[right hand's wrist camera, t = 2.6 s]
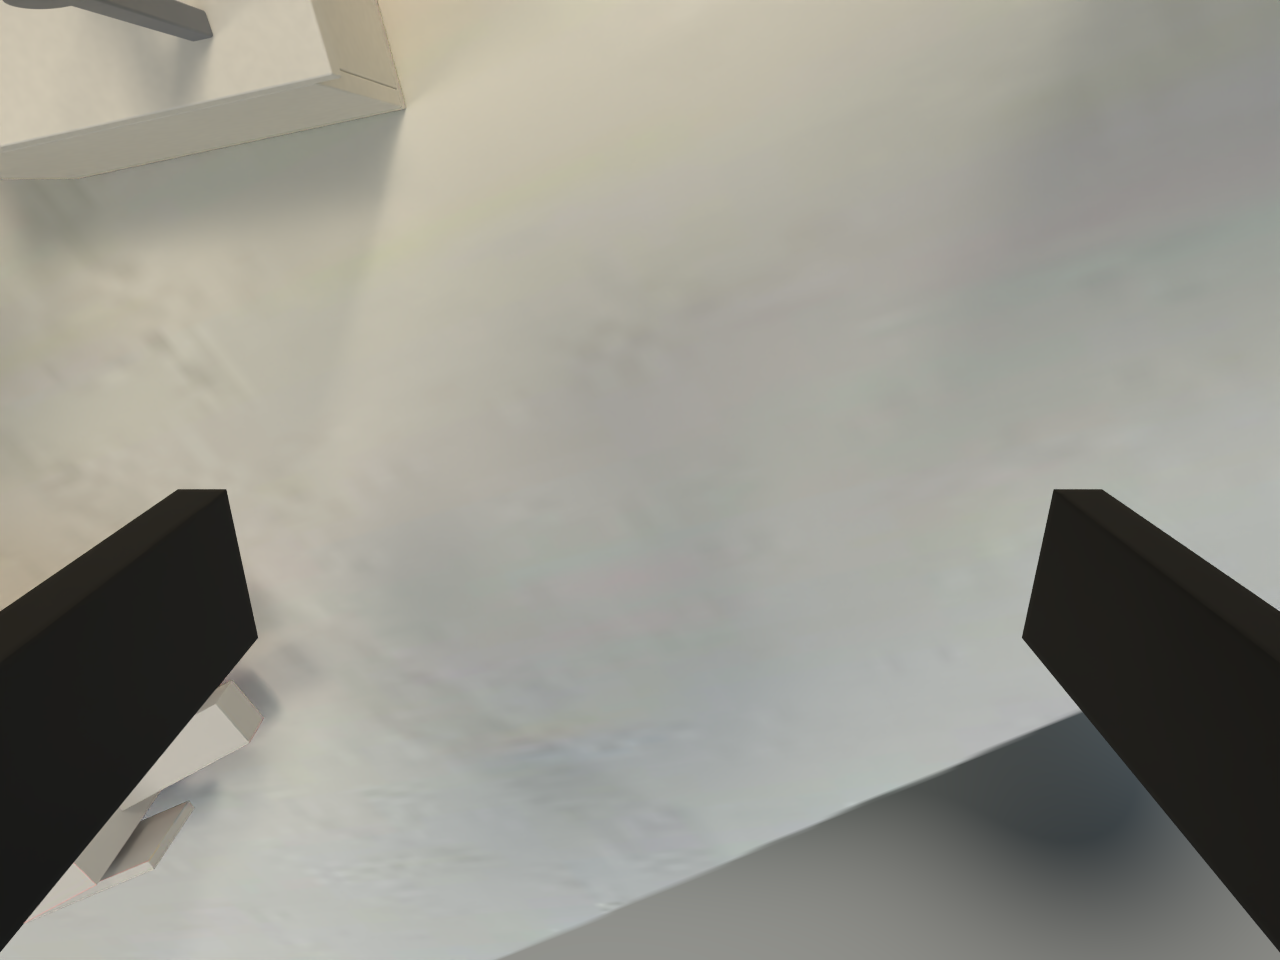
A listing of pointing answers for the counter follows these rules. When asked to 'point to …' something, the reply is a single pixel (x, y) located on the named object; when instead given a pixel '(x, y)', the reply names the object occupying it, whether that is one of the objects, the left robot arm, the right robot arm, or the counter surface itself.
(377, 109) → the chest
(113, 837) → the toy
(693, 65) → the counter surface
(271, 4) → the lid
